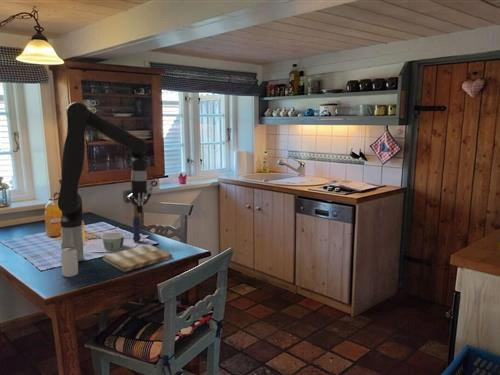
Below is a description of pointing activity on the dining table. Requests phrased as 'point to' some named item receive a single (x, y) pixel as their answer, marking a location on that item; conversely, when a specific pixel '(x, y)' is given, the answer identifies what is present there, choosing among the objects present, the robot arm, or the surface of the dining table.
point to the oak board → (142, 260)
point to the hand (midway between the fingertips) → (139, 212)
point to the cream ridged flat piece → (129, 253)
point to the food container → (113, 240)
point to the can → (69, 261)
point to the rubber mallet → (135, 218)
